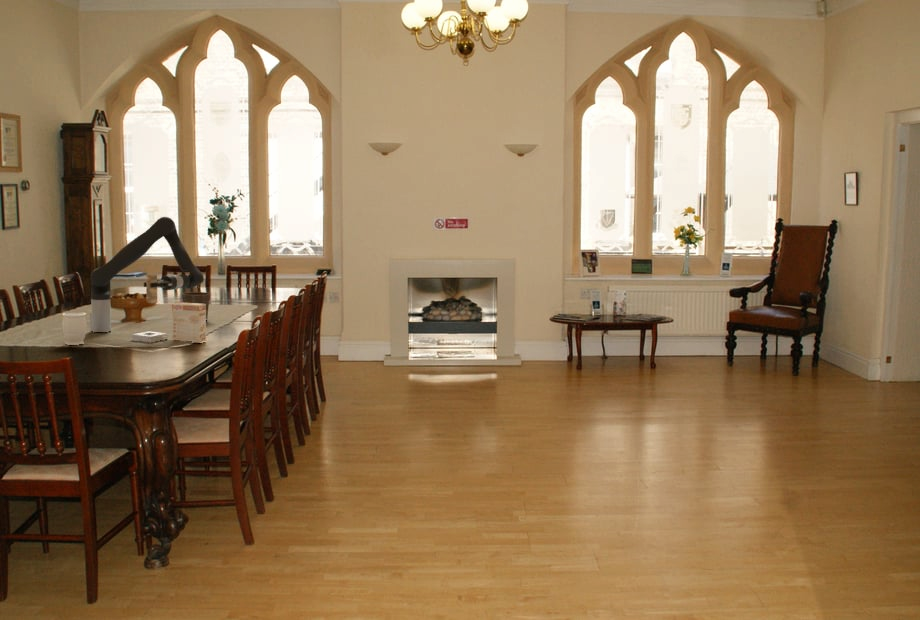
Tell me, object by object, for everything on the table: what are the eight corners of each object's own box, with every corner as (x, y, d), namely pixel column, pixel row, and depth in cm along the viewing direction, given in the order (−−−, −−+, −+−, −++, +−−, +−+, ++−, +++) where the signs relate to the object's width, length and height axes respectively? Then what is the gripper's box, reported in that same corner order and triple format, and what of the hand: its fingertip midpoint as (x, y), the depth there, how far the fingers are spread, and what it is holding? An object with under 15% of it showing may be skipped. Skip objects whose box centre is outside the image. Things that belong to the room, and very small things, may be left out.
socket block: (131, 342, 436) (131, 334, 435) (149, 339, 446) (149, 331, 446) (150, 344, 431) (150, 336, 430) (167, 341, 442) (167, 333, 441)
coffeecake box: (206, 342, 443) (206, 303, 440) (198, 344, 436) (198, 305, 433) (180, 340, 447) (179, 301, 444) (171, 342, 440) (171, 303, 437)
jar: (78, 341, 432) (78, 311, 430) (91, 344, 427) (90, 313, 425) (58, 344, 424) (57, 313, 422) (70, 347, 418) (70, 315, 416)
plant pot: (181, 319, 516) (181, 291, 514) (210, 319, 521) (210, 291, 519) (181, 323, 500) (181, 295, 498) (211, 323, 505) (211, 295, 503)
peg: (146, 302, 441) (146, 274, 439) (151, 301, 444) (151, 274, 442) (152, 303, 440) (151, 275, 438) (157, 302, 443) (157, 274, 441)
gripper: (161, 274, 456) (136, 276, 440) (182, 275, 450) (158, 278, 435) (161, 288, 457) (136, 291, 441) (183, 290, 451) (158, 293, 436)
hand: (147, 285), depth 438 cm, fingers closed on peg, 3 cm apart
